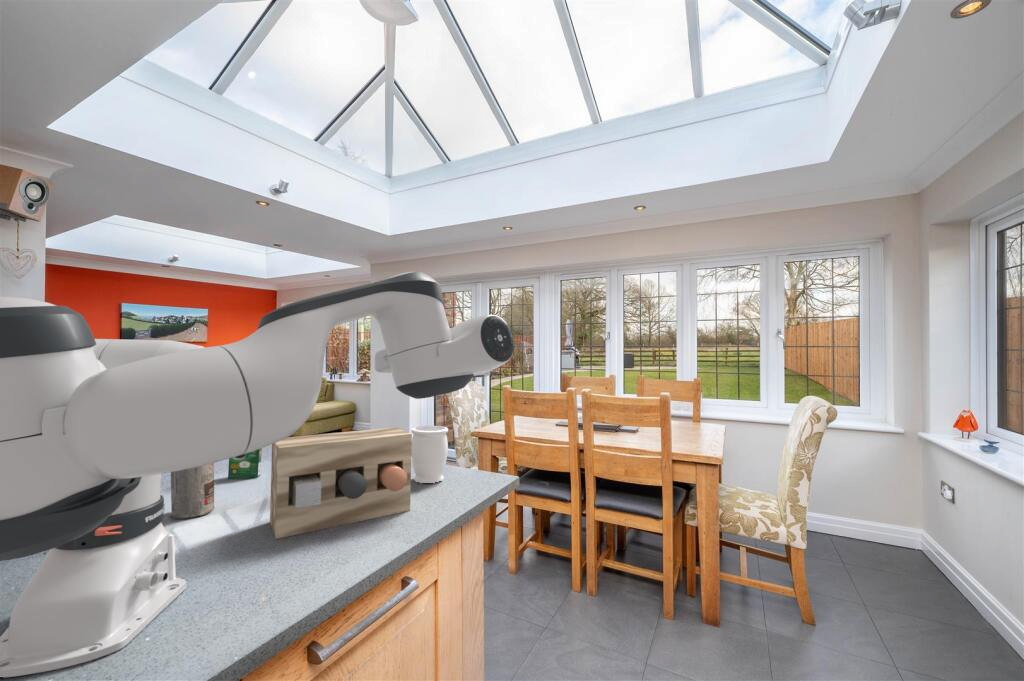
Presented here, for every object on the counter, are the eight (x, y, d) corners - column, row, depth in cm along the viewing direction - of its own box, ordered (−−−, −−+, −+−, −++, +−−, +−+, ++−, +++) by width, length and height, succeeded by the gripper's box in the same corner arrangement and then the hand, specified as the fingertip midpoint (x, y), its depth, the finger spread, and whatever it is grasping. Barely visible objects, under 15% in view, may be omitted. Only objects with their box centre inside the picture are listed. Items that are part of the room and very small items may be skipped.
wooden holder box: (410, 510, 102) (411, 433, 103) (276, 538, 86) (278, 447, 86) (394, 497, 110) (396, 427, 111) (269, 521, 94) (272, 438, 94)
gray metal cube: (320, 503, 87) (321, 480, 87) (295, 508, 84) (296, 484, 85) (315, 496, 91) (316, 474, 91) (291, 500, 89) (291, 478, 89)
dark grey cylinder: (366, 496, 92) (367, 472, 93) (342, 500, 90) (343, 476, 90) (359, 490, 97) (360, 467, 97) (336, 494, 94) (337, 470, 94)
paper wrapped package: (190, 522, 93) (193, 429, 94) (159, 518, 95) (162, 427, 95) (223, 508, 102) (226, 422, 102) (194, 504, 103) (197, 420, 104)
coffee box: (262, 475, 128) (263, 430, 128) (258, 478, 125) (260, 432, 125) (231, 476, 126) (233, 431, 126) (227, 479, 123) (228, 433, 123)
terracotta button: (407, 489, 98) (407, 466, 98) (385, 493, 95) (385, 470, 95) (398, 483, 102) (399, 461, 102) (377, 486, 99) (378, 464, 99)
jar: (454, 477, 128) (455, 427, 129) (433, 487, 119) (434, 433, 119) (424, 473, 133) (425, 423, 133) (402, 482, 123) (403, 429, 124)
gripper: (390, 372, 68) (362, 383, 79) (497, 375, 80) (460, 384, 91) (390, 334, 70) (363, 349, 81) (495, 342, 82) (459, 355, 93)
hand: (415, 368), depth 86 cm, fingers open, 8 cm apart
